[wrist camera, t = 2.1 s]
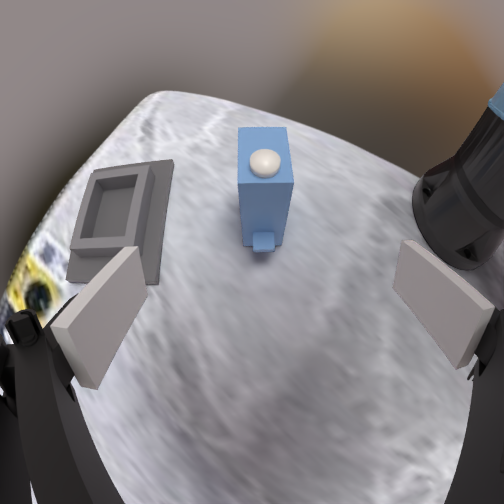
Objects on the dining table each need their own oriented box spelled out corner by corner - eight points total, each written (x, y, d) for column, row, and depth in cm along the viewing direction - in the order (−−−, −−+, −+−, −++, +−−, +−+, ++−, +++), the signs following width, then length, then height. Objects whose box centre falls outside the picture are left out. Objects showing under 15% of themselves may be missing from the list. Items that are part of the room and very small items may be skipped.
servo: (243, 185, 32) (238, 108, 22) (276, 185, 32) (284, 107, 22) (243, 262, 29) (236, 198, 18) (282, 261, 29) (298, 197, 18)
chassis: (96, 173, 34) (86, 158, 31) (174, 164, 34) (167, 146, 31) (70, 282, 28) (53, 272, 25) (158, 284, 28) (146, 273, 25)
